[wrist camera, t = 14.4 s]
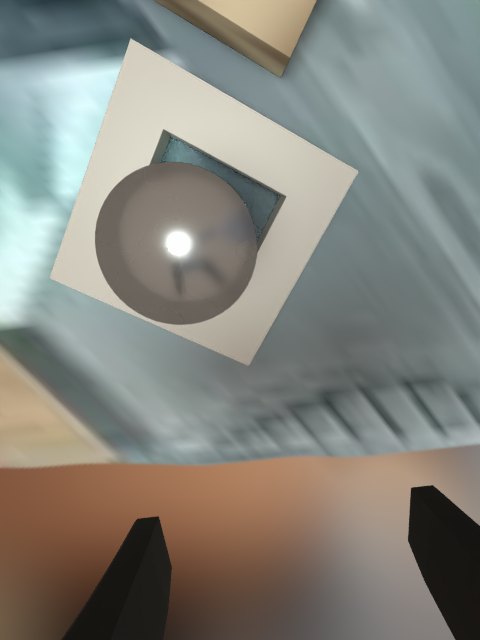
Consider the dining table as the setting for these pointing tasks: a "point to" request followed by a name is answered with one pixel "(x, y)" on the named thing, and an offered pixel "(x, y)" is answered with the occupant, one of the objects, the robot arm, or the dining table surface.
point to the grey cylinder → (176, 243)
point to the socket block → (250, 25)
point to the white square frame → (230, 150)
